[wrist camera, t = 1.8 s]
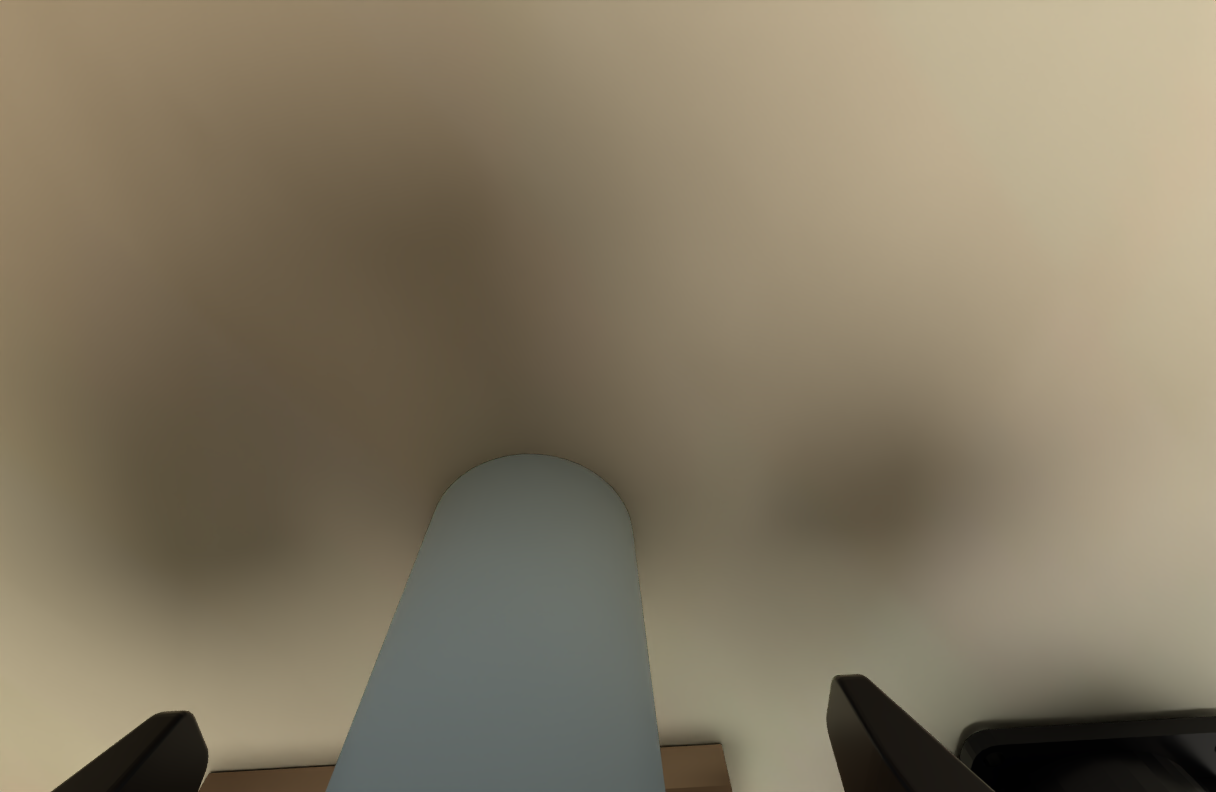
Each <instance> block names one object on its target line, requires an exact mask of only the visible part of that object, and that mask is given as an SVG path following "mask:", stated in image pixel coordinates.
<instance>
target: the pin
mask: <svg viewBox="0 0 1216 792" xmlns="http://www.w3.org/2000/svg"><path fill="white" fill-rule="evenodd" d="M325 792H665V784H664V776H663V768H662V760H661V752H660V744H659V736H658V728H657V720H656V712H655V704H654V696H653V688H652V680H651V672H650V664H649V657H648V649H647V641H646V633H645V625H644V617H643V609H642V601H641V593H640V585H639V577H638V569H637V561H636V553H635V545H634V537H633V529H632V524H631V521H630V517H629V514H628V512H627V510H626V507H625V505H624V504H623V502H622V500H621V499H620V497H619V496H618V494H617V493H616V492H615V491H614V490H613V489H612V487H611V486H610V485H609V484H608V483H606V482H605V481H604V480H603V479H602V478H601V477H599V476H598V475H596V474H595V473H593V472H592V471H591V470H589V469H587V468H585V467H583V466H581V465H579V464H577V463H574V462H571V461H569V460H566V459H562V458H558V457H554V456H548V455H540V454H520V455H510V456H506V457H501V458H497V459H494V460H491V461H488V462H485V463H483V464H481V465H479V466H477V467H475V468H473V469H471V470H469V471H468V472H467V473H465V474H464V475H462V476H461V477H460V478H458V479H457V480H456V481H455V482H454V483H453V484H452V485H451V486H450V487H449V488H448V489H447V491H446V492H445V493H444V494H443V496H442V498H441V499H440V501H439V503H438V504H437V507H436V509H435V512H434V514H433V517H432V519H431V522H430V524H429V527H428V529H427V532H426V535H425V537H424V540H423V542H422V545H421V547H420V550H419V553H418V555H417V558H416V560H415V563H414V565H413V568H412V570H411V573H410V576H409V578H408V581H407V583H406V586H405V588H404V591H403V594H402V596H401V599H400V601H399V604H398V606H397V609H396V612H395V614H394V617H393V619H392V622H391V624H390V627H389V630H388V632H387V635H386V637H385V640H384V642H383V645H382V648H381V650H380V653H379V655H378V658H377V660H376V663H375V666H374V668H373V671H372V673H371V676H370V678H369V681H368V684H367V686H366V689H365V691H364V694H363V696H362V699H361V702H360V704H359V707H358V709H357V712H356V714H355V717H354V720H353V722H352V725H351V727H350V730H349V732H348V735H347V737H346V740H345V743H344V745H343V748H342V750H341V753H340V755H339V758H338V761H337V763H336V766H335V768H334V771H333V773H332V776H331V779H330V781H329V784H328V786H327V789H326V791H325Z"/></svg>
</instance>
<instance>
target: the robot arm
mask: <svg viewBox="0 0 1216 792" xmlns="http://www.w3.org/2000/svg"><path fill="white" fill-rule="evenodd" d="M826 721H827V729H828V734H829V738H830V741H831V745H832V748H833V752H834V755H835V759H836V762H837V766H838V769H839V773H840V777H841V780H842V784H843V787H844V791H845V792H1216V716H1214V717H1197V718H1179V719H1162V720H1144V721H1127V722H1109V723H1091V724H1074V725H1056V726H1039V727H1021V728H1004V729H988V730H983V731H979V732H977V733H975V734H973V735H971V736H970V737H969V738H968V739H967V740H966V741H965V743H964V745H963V748H962V752H961V755H960V759H958V758H957V757H956V756H954V755H953V754H952V753H951V752H950V751H949V750H948V749H947V748H945V747H944V746H943V745H942V744H941V743H940V742H939V741H938V740H936V739H935V738H934V737H933V736H932V735H931V734H930V733H929V732H928V731H926V730H925V729H924V728H923V727H922V726H921V725H920V724H919V723H917V722H916V721H915V720H914V719H913V718H912V717H911V716H910V715H908V714H907V713H906V712H905V711H904V710H903V709H902V708H901V707H899V706H898V705H897V704H896V703H895V702H894V701H893V700H892V699H890V698H889V697H888V696H887V695H886V694H885V693H884V692H883V691H882V690H880V689H879V688H878V687H877V686H876V685H875V684H874V683H873V682H871V681H870V680H869V679H868V678H867V677H865V676H863V675H860V674H850V675H837V676H835V677H834V678H833V680H832V683H831V689H830V695H829V702H828V709H827V717H826ZM207 764H208V748H207V746H206V743H205V741H204V738H203V736H202V734H201V731H200V729H199V726H198V724H197V722H196V719H195V717H194V715H193V714H192V713H190V712H189V711H167V712H160V713H157V714H155V715H153V716H152V717H150V718H149V719H147V720H146V721H145V722H143V723H142V724H141V725H139V726H138V727H137V728H135V729H134V730H133V731H131V732H130V733H129V734H127V735H126V736H125V737H123V738H122V739H121V740H119V741H118V742H117V743H115V744H114V745H113V746H111V747H110V748H109V749H107V750H106V751H105V752H103V753H102V754H101V755H99V756H98V757H97V758H95V759H94V760H93V761H91V762H90V763H89V764H87V765H86V766H85V767H83V768H82V769H81V770H79V771H78V772H77V773H75V774H74V775H73V776H71V777H70V778H69V779H67V780H66V781H65V782H63V783H62V784H61V785H59V786H58V787H57V788H55V789H54V790H53V791H51V792H198V790H199V787H200V785H201V782H202V779H203V777H204V774H205V772H206V768H207Z"/></svg>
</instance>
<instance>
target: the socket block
mask: <svg viewBox="0 0 1216 792" xmlns="http://www.w3.org/2000/svg"><path fill="white" fill-rule="evenodd" d="M660 752H661V760H662V768H663V776H664V784H665V792H732V788H731V784H730V779H729V775H728V770H727V766H726V762H725V757H724V753H723V748H722V744H714V745H696V746H679V747H661V748H660ZM334 768H335V766H327V767H310V768H292V769H274V770H257V771H239V772H222V773H209V774H208V776H207V778H206V779H205V781H204V783H203V785H202V786H201V788H200V790H199V791H198V792H325V791H326V789H327V786H328V784H329V781H330V779H331V776H332V773H333V771H334Z"/></svg>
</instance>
